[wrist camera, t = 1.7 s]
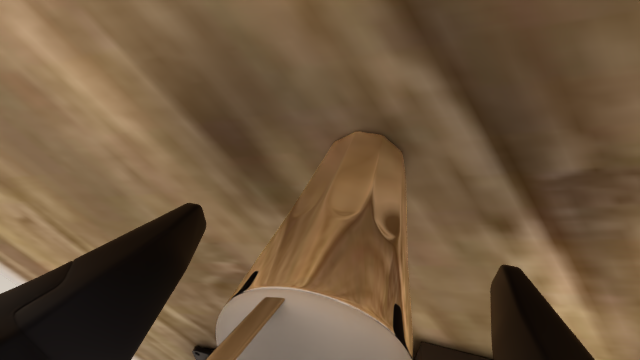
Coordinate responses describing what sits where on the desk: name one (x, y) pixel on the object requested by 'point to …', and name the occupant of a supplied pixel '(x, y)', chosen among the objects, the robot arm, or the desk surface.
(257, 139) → the desk surface
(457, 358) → the brush
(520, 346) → the robot arm
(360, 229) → the milkshake
